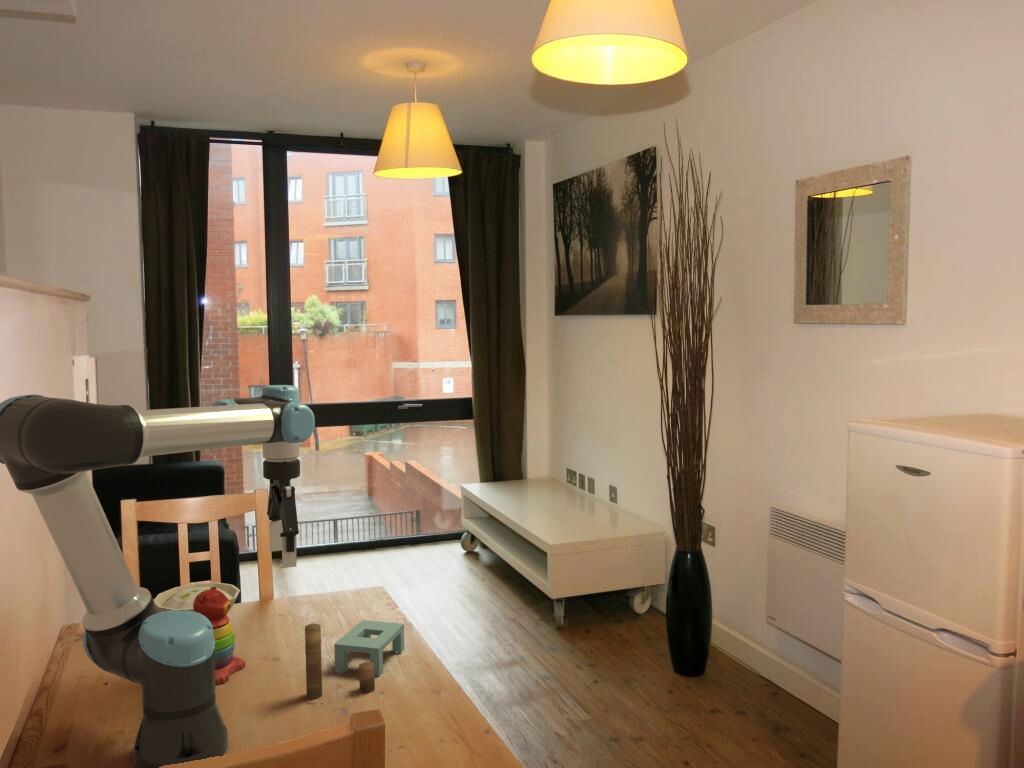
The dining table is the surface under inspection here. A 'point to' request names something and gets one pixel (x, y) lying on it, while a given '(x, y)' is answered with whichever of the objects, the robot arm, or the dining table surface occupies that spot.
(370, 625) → the green stand with hole
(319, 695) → the long pin
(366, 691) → the short pin
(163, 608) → the bowl
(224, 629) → the stacking bear
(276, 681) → the dining table surface
